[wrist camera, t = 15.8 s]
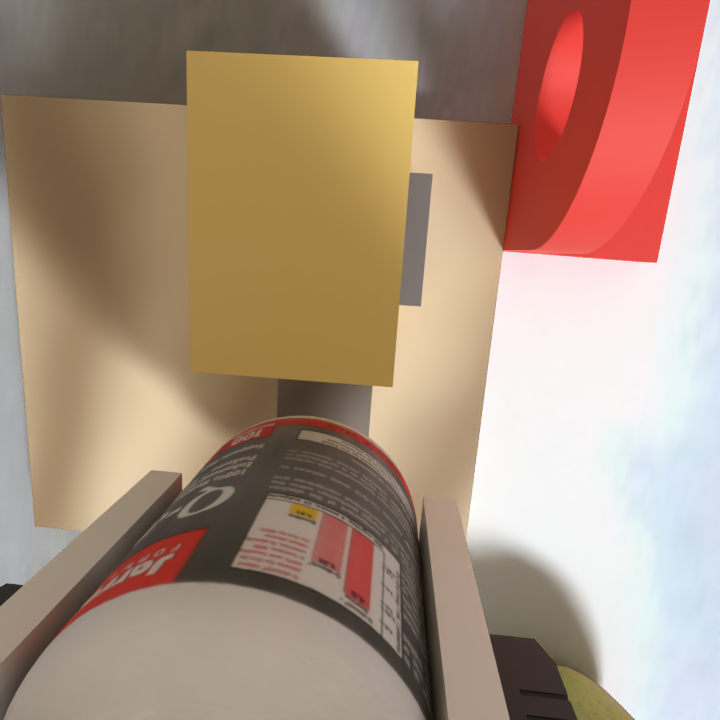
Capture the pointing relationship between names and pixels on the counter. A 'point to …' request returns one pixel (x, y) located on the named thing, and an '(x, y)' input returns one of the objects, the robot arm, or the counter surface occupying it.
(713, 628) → the counter surface
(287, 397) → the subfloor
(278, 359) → the block
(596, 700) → the apple
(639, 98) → the bracket
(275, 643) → the pill bottle
